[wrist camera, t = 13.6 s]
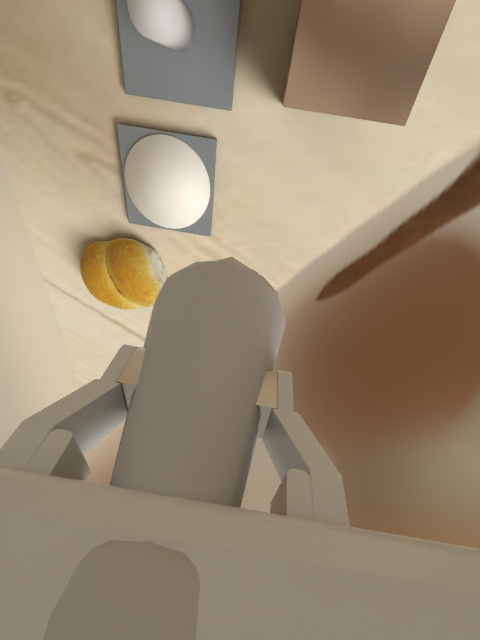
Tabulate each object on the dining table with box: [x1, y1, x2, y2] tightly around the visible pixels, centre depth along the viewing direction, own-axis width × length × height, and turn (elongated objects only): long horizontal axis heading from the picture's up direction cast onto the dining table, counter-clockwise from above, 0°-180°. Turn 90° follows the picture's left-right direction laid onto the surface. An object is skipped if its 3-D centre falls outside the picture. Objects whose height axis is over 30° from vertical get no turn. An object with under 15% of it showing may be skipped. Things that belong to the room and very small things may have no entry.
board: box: [116, 0, 241, 111], centre depth 17 cm, size 8×8×6 cm
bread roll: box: [81, 238, 168, 309], centre depth 30 cm, size 8×9×4 cm
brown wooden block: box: [283, 0, 456, 126], centre depth 16 cm, size 6×6×8 cm
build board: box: [117, 123, 217, 236], centre depth 25 cm, size 8×8×1 cm
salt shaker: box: [43, 257, 286, 640], centre depth 9 cm, size 6×6×13 cm
